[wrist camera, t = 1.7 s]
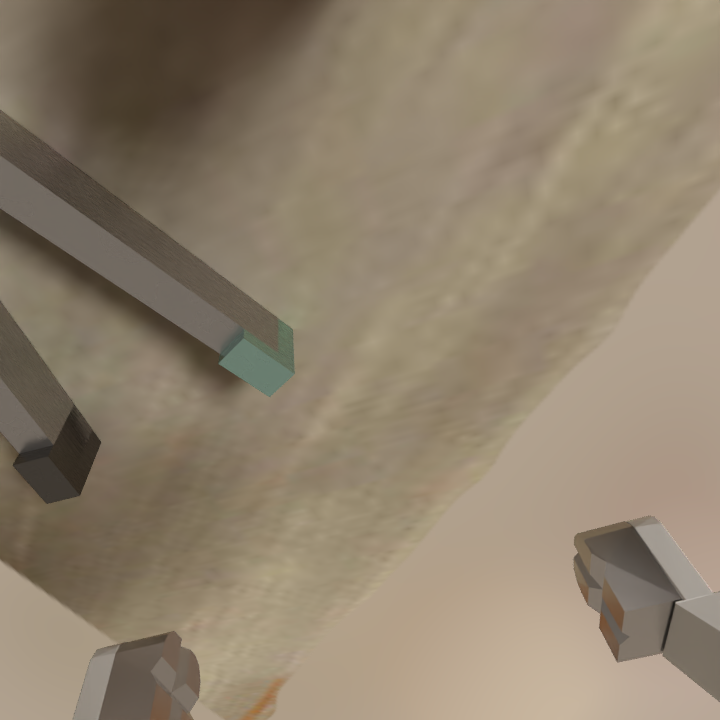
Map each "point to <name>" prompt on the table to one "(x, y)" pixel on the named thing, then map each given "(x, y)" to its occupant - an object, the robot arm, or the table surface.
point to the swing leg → (140, 258)
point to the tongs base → (41, 420)
